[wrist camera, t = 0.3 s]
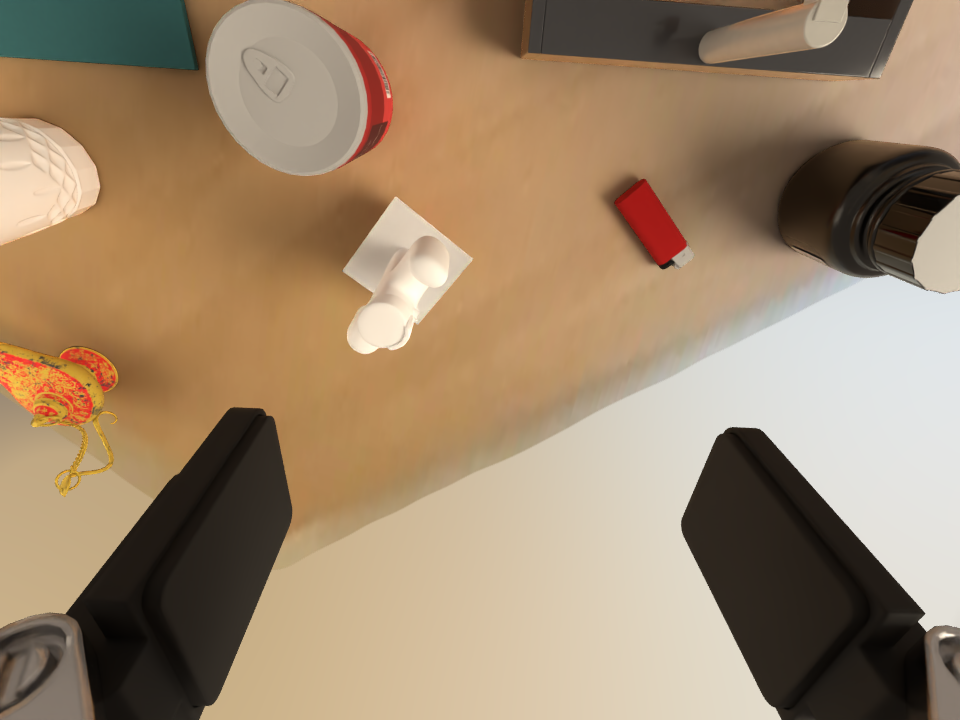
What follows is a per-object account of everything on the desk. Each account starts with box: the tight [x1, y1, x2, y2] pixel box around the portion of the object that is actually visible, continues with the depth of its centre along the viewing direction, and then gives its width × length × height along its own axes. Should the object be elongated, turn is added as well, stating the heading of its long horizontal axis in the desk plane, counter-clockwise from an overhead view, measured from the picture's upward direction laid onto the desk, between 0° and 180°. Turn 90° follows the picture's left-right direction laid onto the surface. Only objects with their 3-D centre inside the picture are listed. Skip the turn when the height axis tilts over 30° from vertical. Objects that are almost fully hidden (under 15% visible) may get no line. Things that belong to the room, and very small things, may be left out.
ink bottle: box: [778, 140, 960, 294], centre depth 31 cm, size 10×9×12 cm
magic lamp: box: [0, 342, 118, 497], centre depth 37 cm, size 7×18×11 cm, turn 35°
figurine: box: [342, 196, 473, 354], centre depth 31 cm, size 7×9×15 cm
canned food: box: [205, 0, 393, 176], centre depth 27 cm, size 8×8×11 cm
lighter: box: [614, 179, 695, 269], centre depth 37 cm, size 3×1×8 cm
